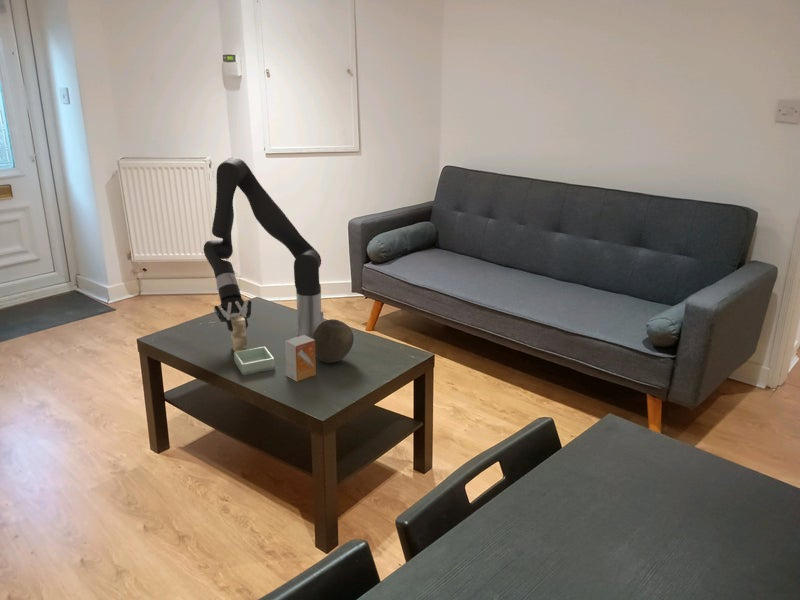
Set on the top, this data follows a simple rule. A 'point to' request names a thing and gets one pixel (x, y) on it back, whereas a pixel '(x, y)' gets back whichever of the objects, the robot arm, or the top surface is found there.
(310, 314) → the robot arm
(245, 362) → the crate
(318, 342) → the brown leather ball
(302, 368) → the small box
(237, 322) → the birch block
